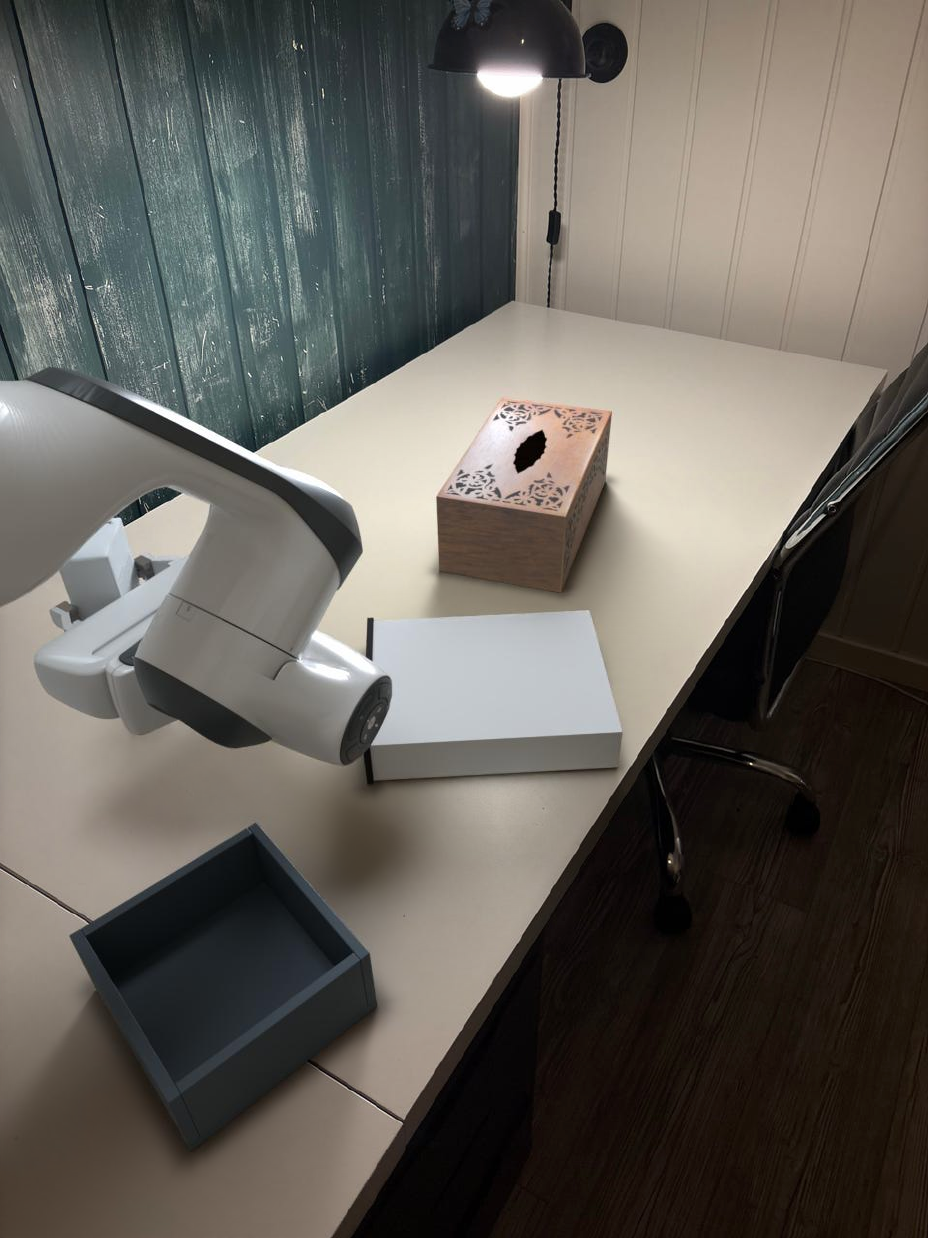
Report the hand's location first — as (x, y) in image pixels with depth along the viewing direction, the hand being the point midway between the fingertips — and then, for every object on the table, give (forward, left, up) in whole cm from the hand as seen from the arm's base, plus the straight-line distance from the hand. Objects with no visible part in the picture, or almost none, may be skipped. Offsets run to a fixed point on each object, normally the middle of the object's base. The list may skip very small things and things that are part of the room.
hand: (99, 587), depth 78 cm
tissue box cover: (+51, 0, -16) cm, 54 cm away
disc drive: (+25, -21, -16) cm, 37 cm away
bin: (-8, -31, -16) cm, 36 cm away
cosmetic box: (0, -1, -7) cm, 7 cm away
